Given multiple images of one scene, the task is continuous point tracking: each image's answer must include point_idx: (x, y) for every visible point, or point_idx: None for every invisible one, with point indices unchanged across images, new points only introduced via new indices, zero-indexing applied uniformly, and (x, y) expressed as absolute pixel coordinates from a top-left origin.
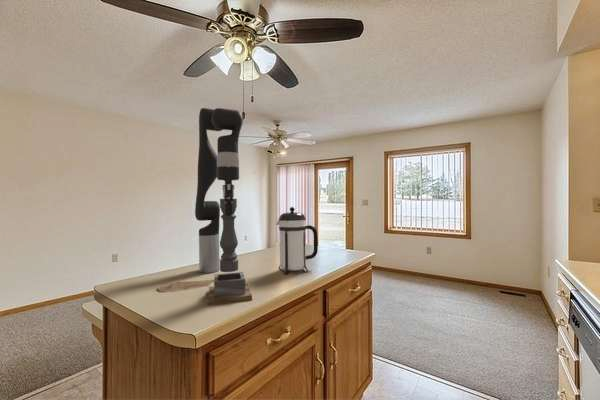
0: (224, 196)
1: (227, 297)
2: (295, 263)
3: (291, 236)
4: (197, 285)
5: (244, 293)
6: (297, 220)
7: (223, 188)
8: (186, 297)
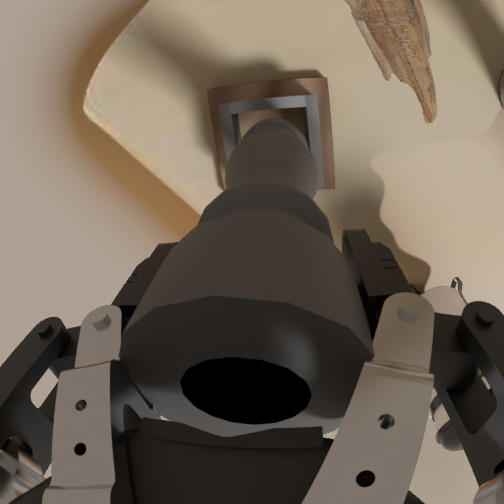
0: (70, 371)
1: (219, 137)
2: None
3: None
4: (384, 44)
5: None
6: (437, 431)
7: (54, 498)
8: (281, 25)
